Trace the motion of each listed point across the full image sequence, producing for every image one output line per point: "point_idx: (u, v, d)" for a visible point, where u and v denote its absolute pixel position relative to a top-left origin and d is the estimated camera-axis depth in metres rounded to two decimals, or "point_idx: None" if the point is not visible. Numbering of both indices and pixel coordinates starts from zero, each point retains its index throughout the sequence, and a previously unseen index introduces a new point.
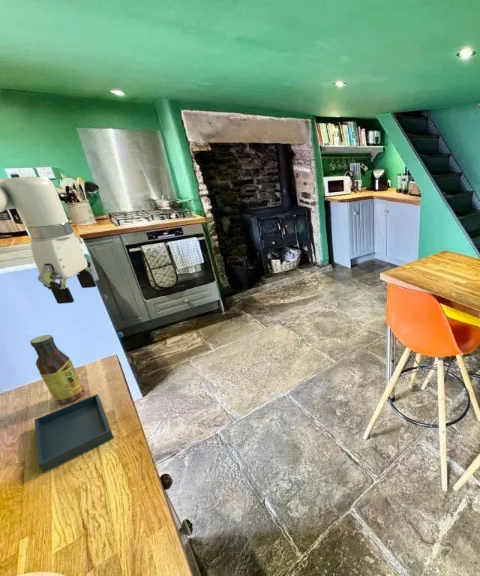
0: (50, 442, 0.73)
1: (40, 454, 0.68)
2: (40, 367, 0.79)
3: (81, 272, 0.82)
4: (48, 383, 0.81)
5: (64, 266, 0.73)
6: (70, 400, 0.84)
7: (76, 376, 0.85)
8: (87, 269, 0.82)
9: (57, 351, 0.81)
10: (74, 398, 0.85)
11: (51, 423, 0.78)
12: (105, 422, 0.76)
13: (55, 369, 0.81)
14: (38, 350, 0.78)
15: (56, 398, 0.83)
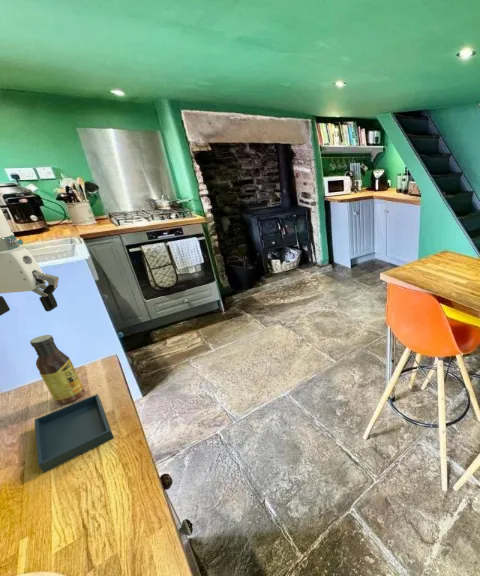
0: (50, 442, 0.73)
1: (40, 454, 0.68)
2: (40, 367, 0.79)
3: None
4: (48, 383, 0.81)
5: None
6: (70, 400, 0.84)
7: (76, 376, 0.85)
8: (37, 292, 0.73)
9: (57, 351, 0.81)
10: (74, 398, 0.85)
11: (51, 423, 0.78)
12: (105, 422, 0.76)
13: (55, 369, 0.81)
14: (38, 350, 0.78)
15: (56, 398, 0.83)
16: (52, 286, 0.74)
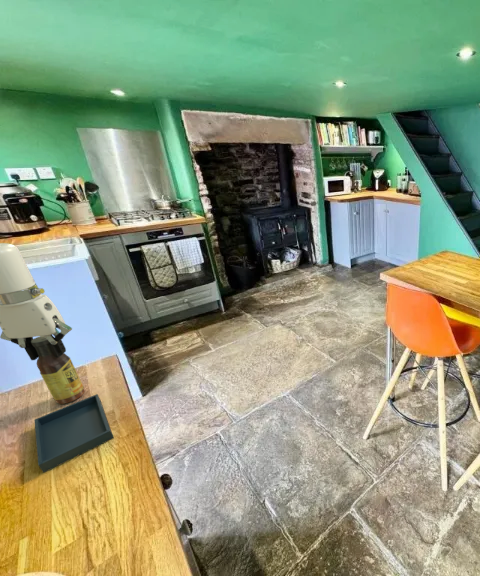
0: (50, 442, 0.73)
1: (40, 454, 0.68)
2: (40, 367, 0.79)
3: None
4: (48, 383, 0.81)
5: (5, 328, 0.74)
6: (70, 400, 0.84)
7: (76, 376, 0.85)
8: (49, 339, 0.78)
9: None
10: (74, 398, 0.85)
11: (51, 423, 0.78)
12: (105, 422, 0.76)
13: (56, 369, 0.81)
14: (39, 349, 0.78)
15: (56, 398, 0.83)
16: (62, 335, 0.79)
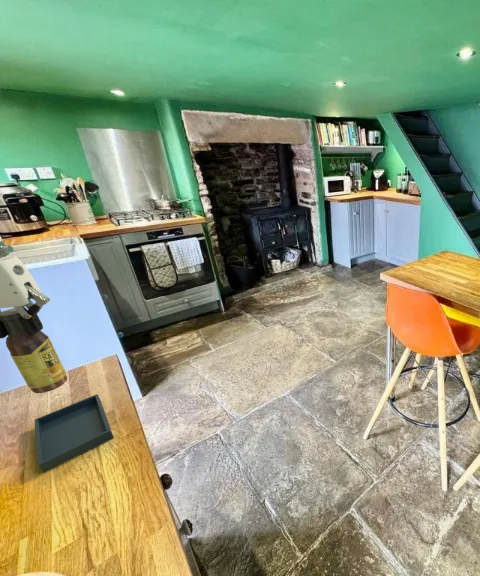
0: (50, 442, 0.73)
1: (40, 454, 0.68)
2: (10, 347, 0.64)
3: None
4: (21, 367, 0.65)
5: None
6: (49, 389, 0.69)
7: (57, 360, 0.70)
8: (21, 312, 0.63)
9: None
10: (54, 386, 0.70)
11: (51, 423, 0.78)
12: (105, 422, 0.76)
13: (30, 350, 0.65)
14: (8, 325, 0.63)
15: (31, 386, 0.67)
16: (37, 307, 0.64)
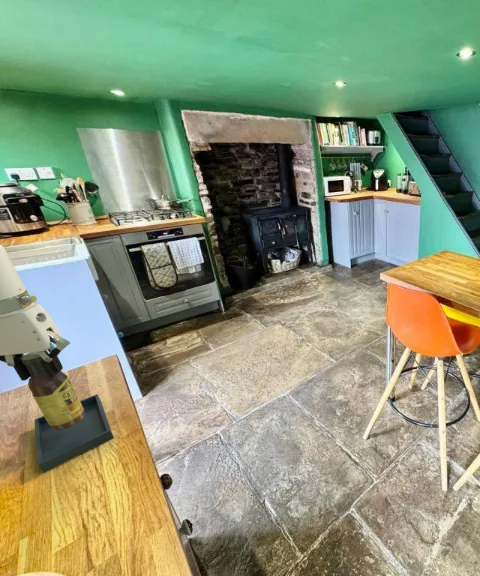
0: (50, 442, 0.73)
1: (40, 454, 0.68)
2: (32, 388, 0.67)
3: None
4: (42, 406, 0.69)
5: None
6: (68, 425, 0.72)
7: (75, 398, 0.73)
8: (43, 356, 0.66)
9: None
10: (73, 423, 0.73)
11: None
12: (105, 422, 0.76)
13: (51, 391, 0.68)
14: (31, 368, 0.66)
15: (52, 423, 0.71)
16: (58, 351, 0.67)
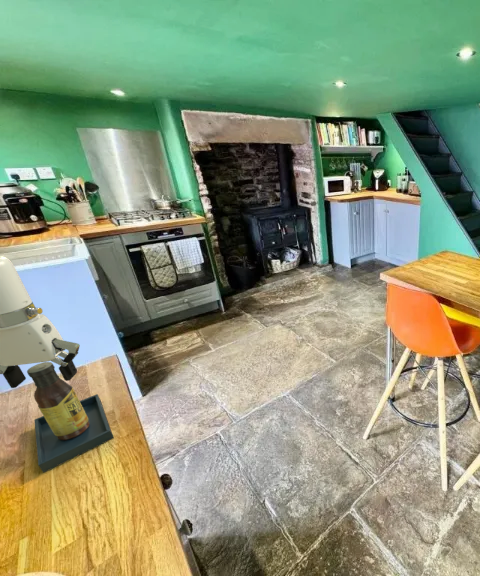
0: (50, 442, 0.73)
1: (40, 454, 0.68)
2: (38, 400, 0.68)
3: None
4: (48, 417, 0.70)
5: None
6: (73, 436, 0.74)
7: (80, 408, 0.75)
8: (57, 362, 0.67)
9: (58, 381, 0.70)
10: (78, 433, 0.74)
11: None
12: (105, 422, 0.76)
13: (56, 402, 0.70)
14: (36, 380, 0.67)
15: (57, 434, 0.72)
16: (73, 354, 0.68)
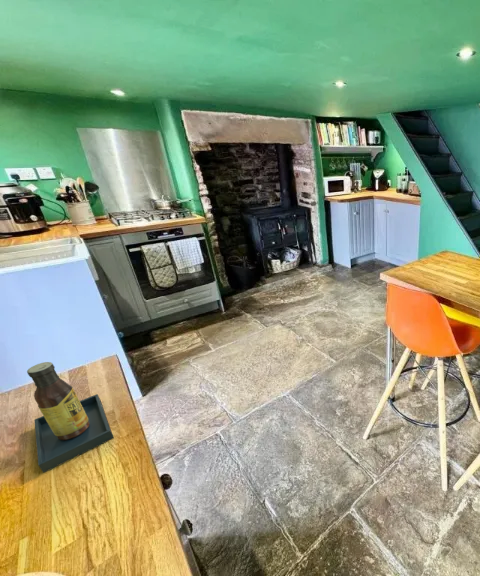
0: (50, 442, 0.73)
1: (40, 454, 0.68)
2: (38, 400, 0.68)
3: None
4: (48, 417, 0.70)
5: None
6: (73, 436, 0.74)
7: (80, 408, 0.75)
8: None
9: (58, 381, 0.70)
10: (78, 433, 0.74)
11: None
12: (105, 422, 0.76)
13: (56, 402, 0.70)
14: (36, 380, 0.67)
15: (57, 434, 0.72)
16: None
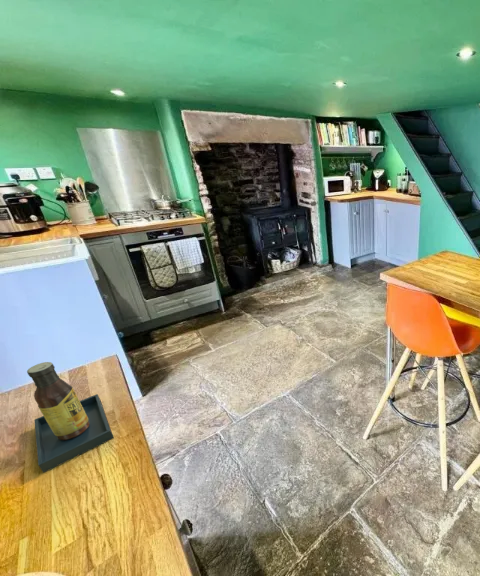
0: (50, 442, 0.73)
1: (40, 454, 0.68)
2: (38, 400, 0.68)
3: None
4: (48, 417, 0.70)
5: None
6: (73, 436, 0.74)
7: (80, 408, 0.75)
8: None
9: (58, 381, 0.70)
10: (78, 433, 0.74)
11: None
12: (105, 422, 0.76)
13: (56, 402, 0.70)
14: (36, 380, 0.67)
15: (57, 434, 0.72)
16: None
